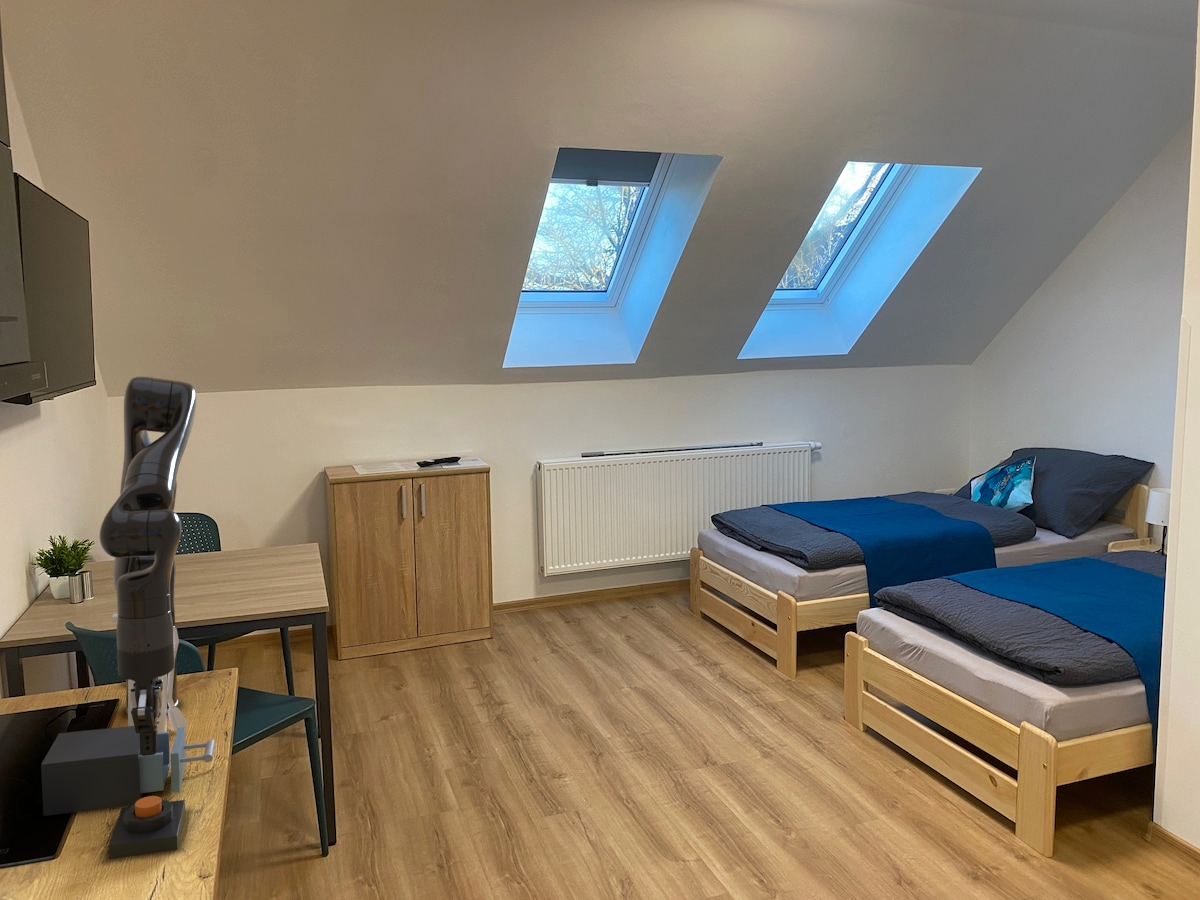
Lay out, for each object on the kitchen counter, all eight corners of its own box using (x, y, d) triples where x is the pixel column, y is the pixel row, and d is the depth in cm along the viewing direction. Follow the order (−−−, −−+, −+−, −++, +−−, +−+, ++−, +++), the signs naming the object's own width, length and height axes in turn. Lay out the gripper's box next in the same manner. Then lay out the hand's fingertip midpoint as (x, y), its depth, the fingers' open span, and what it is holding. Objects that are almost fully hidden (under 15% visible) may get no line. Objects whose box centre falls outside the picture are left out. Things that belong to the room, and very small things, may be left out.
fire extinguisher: (187, 741, 167) (184, 611, 164) (114, 749, 163) (109, 617, 160) (190, 726, 174) (186, 601, 171) (120, 734, 169) (115, 606, 166)
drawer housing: (150, 771, 155) (148, 724, 154) (139, 804, 145) (138, 753, 144) (61, 781, 151) (58, 733, 150) (43, 816, 140) (40, 764, 139)
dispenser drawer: (216, 760, 158) (215, 723, 158) (212, 788, 149) (211, 749, 148) (106, 773, 153) (104, 735, 152) (93, 803, 143) (92, 762, 142)
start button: (137, 808, 137) (136, 797, 136) (163, 805, 138) (162, 794, 138) (133, 820, 133) (132, 809, 133) (160, 817, 134) (159, 806, 134)
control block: (122, 820, 140) (121, 796, 139) (185, 812, 143) (184, 788, 142) (109, 859, 129) (108, 833, 129) (177, 849, 132) (176, 824, 132)
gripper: (167, 653, 128) (171, 769, 130) (178, 626, 140) (181, 732, 142) (108, 658, 125) (113, 776, 127) (124, 630, 138) (128, 738, 139)
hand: (149, 753), depth 135 cm, fingers closed
